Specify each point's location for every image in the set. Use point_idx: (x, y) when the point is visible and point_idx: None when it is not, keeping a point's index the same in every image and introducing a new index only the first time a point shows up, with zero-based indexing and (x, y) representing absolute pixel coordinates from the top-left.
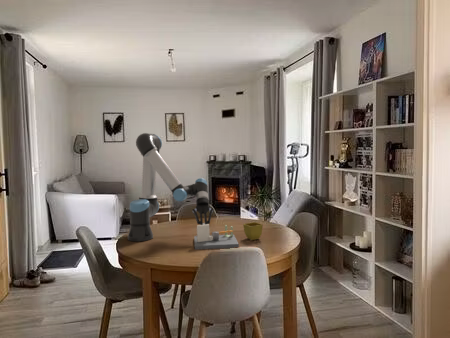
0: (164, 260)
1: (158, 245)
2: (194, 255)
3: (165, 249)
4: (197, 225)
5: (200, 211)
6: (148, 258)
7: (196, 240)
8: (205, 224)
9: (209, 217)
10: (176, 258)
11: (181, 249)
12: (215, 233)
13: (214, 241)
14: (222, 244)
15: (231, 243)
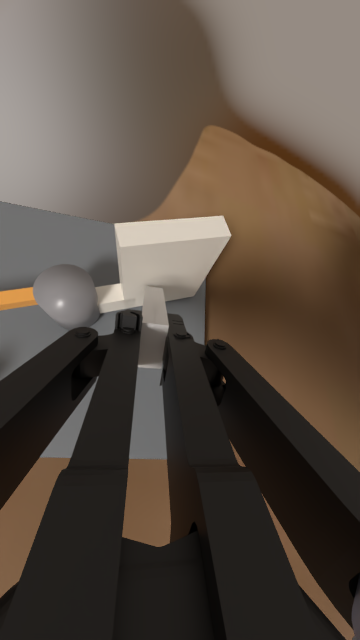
0: (291, 185)
1: (356, 360)
2: (205, 191)
3: (314, 291)
4: (225, 232)
5: (251, 502)
6: (338, 216)
7: (193, 333)
8: (150, 243)
9: (46, 367)
10: (260, 187)
11: (254, 271)
12: (72, 266)
13: (94, 283)
14: (69, 217)
15: (10, 217)
